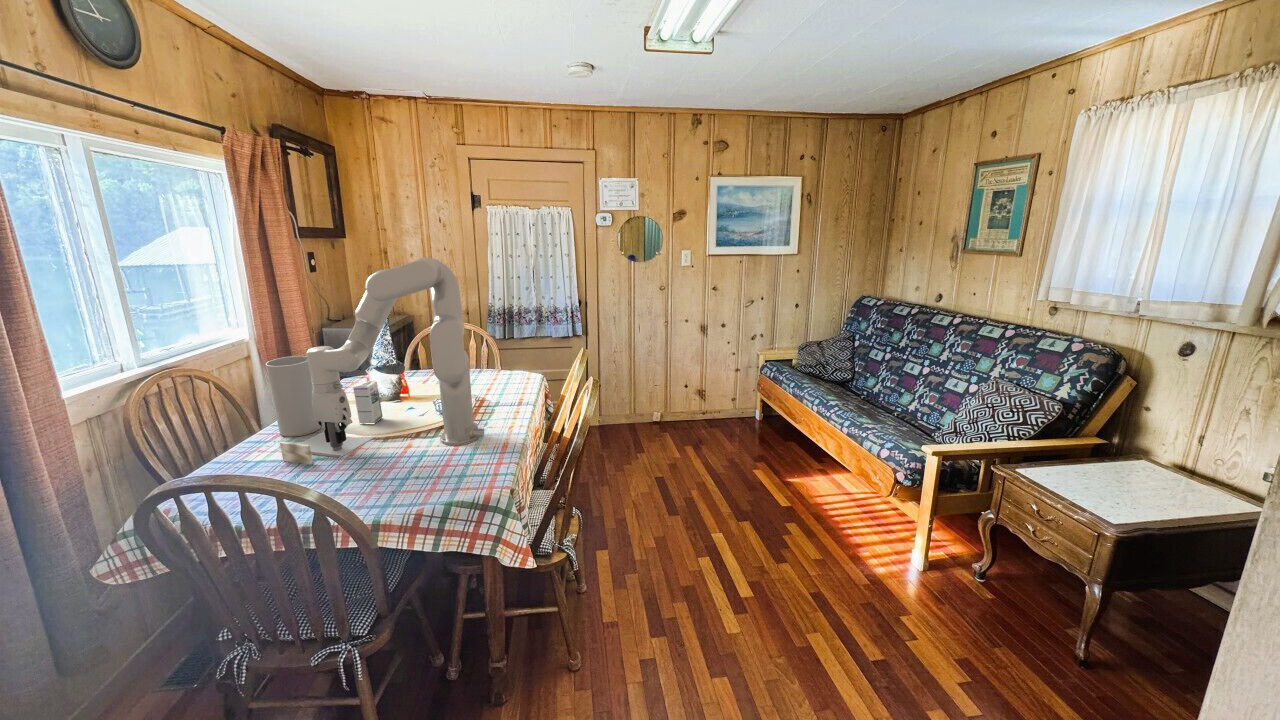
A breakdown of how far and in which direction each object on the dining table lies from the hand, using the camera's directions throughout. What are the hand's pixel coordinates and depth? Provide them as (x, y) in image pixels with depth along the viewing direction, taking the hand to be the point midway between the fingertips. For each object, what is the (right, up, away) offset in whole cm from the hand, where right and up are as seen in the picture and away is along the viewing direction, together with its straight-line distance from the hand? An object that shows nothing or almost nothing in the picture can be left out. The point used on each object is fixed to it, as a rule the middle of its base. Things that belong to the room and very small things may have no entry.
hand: (336, 440), depth 162 cm
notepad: (-4, -2, +5) cm, 7 cm away
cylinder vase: (-21, +1, +16) cm, 26 cm away
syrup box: (-1, +3, +23) cm, 23 cm away
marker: (0, -3, +1) cm, 3 cm away
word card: (-7, -5, -7) cm, 12 cm away
